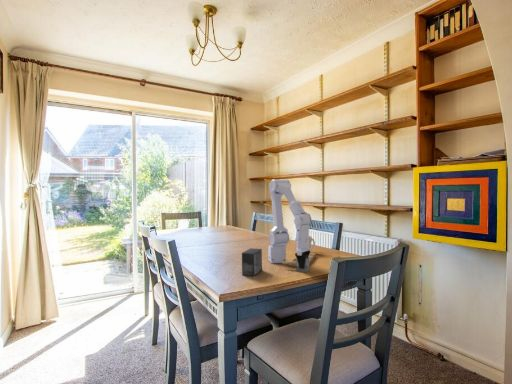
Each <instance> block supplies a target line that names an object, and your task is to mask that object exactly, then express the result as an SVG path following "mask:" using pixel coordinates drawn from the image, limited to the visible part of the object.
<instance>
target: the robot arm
mask: <svg viewBox="0 0 512 384" xmlns="http://www.w3.org/2000/svg"><path fill="white" fill-rule="evenodd" d="M269 195H270V196H271V197H270V198H271V208H272V210H271V211H272V222H273V227H272V228H271V229H270V230H269V237H268V239H269V240H268V241H269V243H270V244H271V245H270V244H269V245H268V247H267V248H268V249H267V250H268V251H267V252H268V253H267V255H268V256H267V257H268V258H267V261H268V262H270V264H283V263H282V261H283V259H285V261H288V260H287V245H288V244H289V242H290V235H289V231H288V228H286V227H285V226H284V217H283V207H282V206H283V204H282V197H283V196H284V197H285V198H286V200H287V202H288V204H289V206H288V207H289V210H290V212H291V213H292V216H293V217H294V219H293V223H294V226H295V229H296V249H295V250H296V252H295V253H294V255H295V258H297V260H298V264H299V268H300V269H304V267H305V261H306V257H308V256H309V254H310V253H311V251H312V249H311V248H312V247H311V248H309V236H310V225H311V223H312V216H311V214H310V213H308V212H307V211H305V209H304V207H303V206H302V204H301V202H300V201H297V200H296V198H295V195H294V193H293V191H292V184H291V181H290V180H289V179H275V178H273V179H271V181H270V182H269ZM308 250H310V251H308Z"/></svg>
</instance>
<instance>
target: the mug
mask: <svg viewBox="0 0 512 384" xmlns="http://www.w3.org/2000/svg"><path fill="white" fill-rule="evenodd" d="M315 245H316V241H315V239H314V238H313V237H312V236H311V235H309V248H311V250H313V249H314V248H315ZM311 246H312V247H311ZM311 250H308V251H310V252H311Z"/></svg>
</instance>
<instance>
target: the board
mask: <svg viewBox="0 0 512 384" xmlns="http://www.w3.org/2000/svg"><path fill="white" fill-rule="evenodd" d="M308 258H309V265H310V264H311V263H312V262H313V261H314V259H315V258H316V252H310V254H309V256H308ZM292 261H294V262H297V258H296V257H295V258H294V259H293V260H292ZM290 267H293V268H294V267H295V268H297V265H292V264H290Z"/></svg>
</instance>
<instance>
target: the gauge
mask: <svg viewBox="0 0 512 384" xmlns="http://www.w3.org/2000/svg"><path fill="white" fill-rule="evenodd" d="M281 264H283V265H291V264H292V265H297V267H296V272H301V273H302V272H303V273H308V272H309V271H310V264H309V258H308V257H306V261H305V267H304V269H300V268H299V264H298V260H297V262H294V261H293V260H287V261H285V259H283V261H282V263H281Z"/></svg>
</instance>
